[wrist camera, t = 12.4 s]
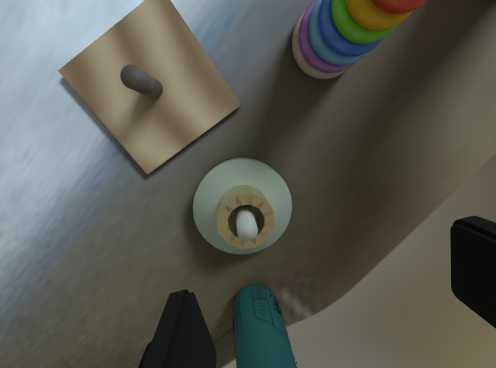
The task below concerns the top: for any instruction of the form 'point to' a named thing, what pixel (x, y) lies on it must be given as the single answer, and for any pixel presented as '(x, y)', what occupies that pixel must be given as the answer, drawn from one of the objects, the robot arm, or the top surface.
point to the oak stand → (151, 83)
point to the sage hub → (243, 215)
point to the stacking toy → (344, 32)
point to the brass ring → (263, 220)
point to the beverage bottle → (260, 330)
